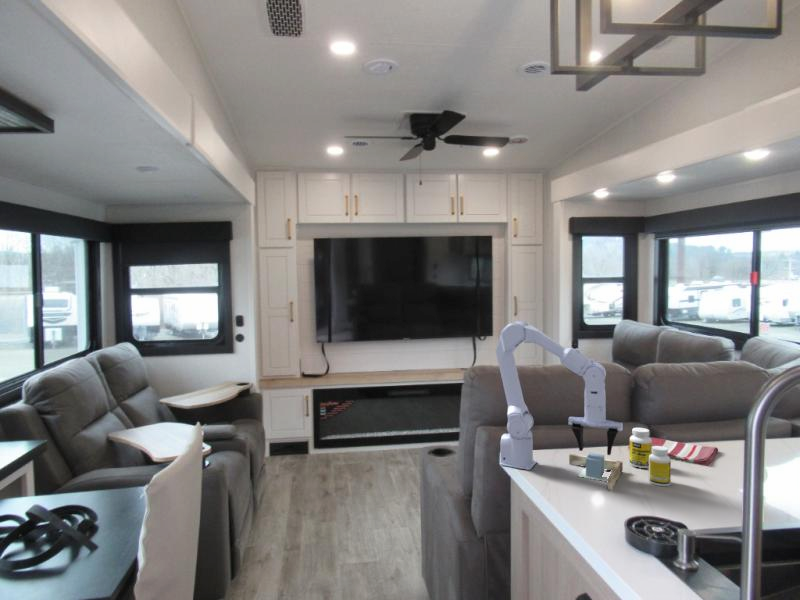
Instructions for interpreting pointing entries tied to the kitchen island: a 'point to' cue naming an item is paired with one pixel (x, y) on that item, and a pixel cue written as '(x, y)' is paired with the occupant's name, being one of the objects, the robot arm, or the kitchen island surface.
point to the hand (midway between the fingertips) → (595, 451)
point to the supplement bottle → (659, 466)
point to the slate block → (595, 465)
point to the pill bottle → (640, 447)
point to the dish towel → (686, 451)
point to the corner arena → (608, 464)
